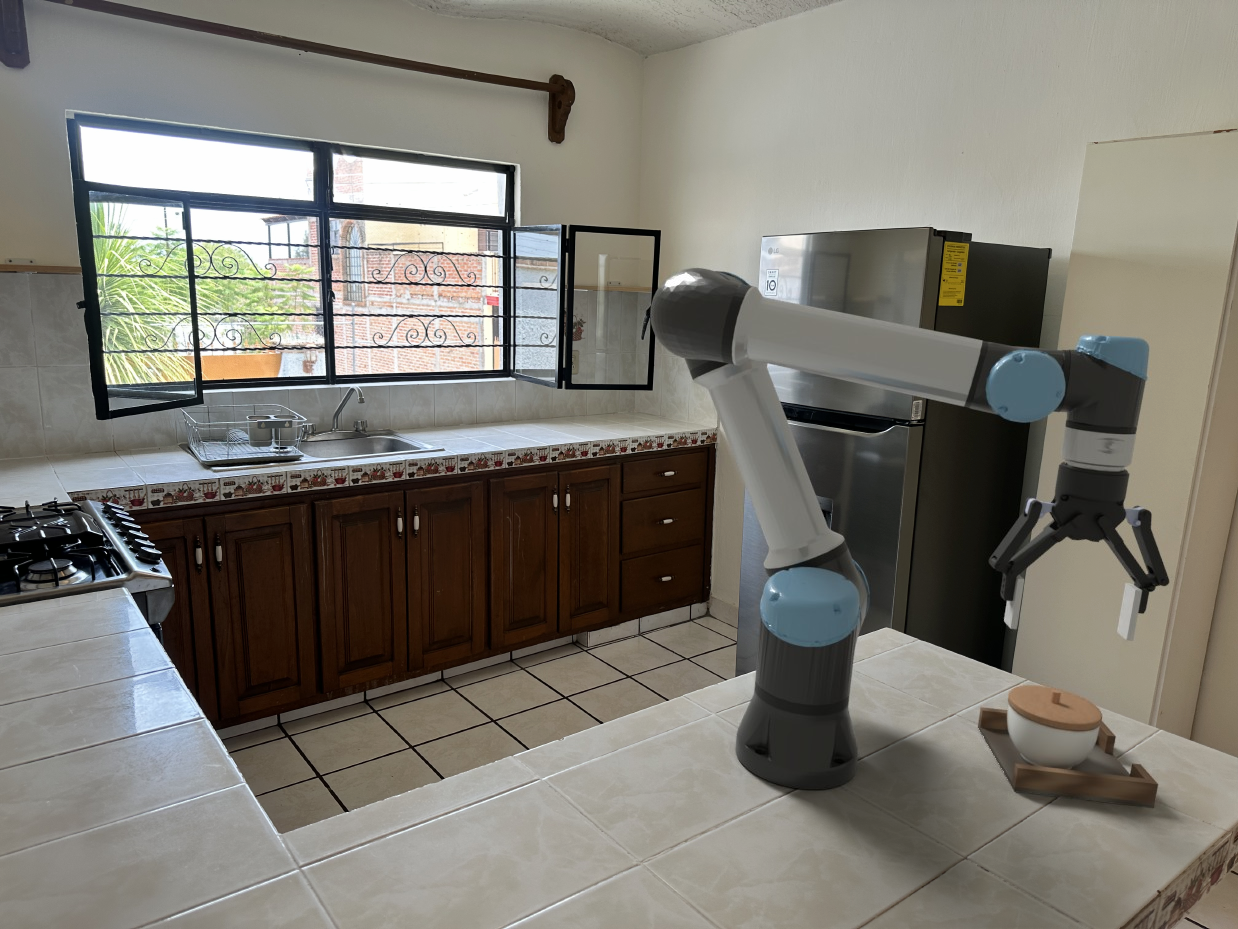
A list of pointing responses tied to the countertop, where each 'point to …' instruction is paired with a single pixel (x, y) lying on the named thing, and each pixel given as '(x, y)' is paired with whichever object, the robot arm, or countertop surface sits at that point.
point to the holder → (1084, 781)
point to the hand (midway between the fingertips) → (1067, 631)
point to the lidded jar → (1052, 726)
